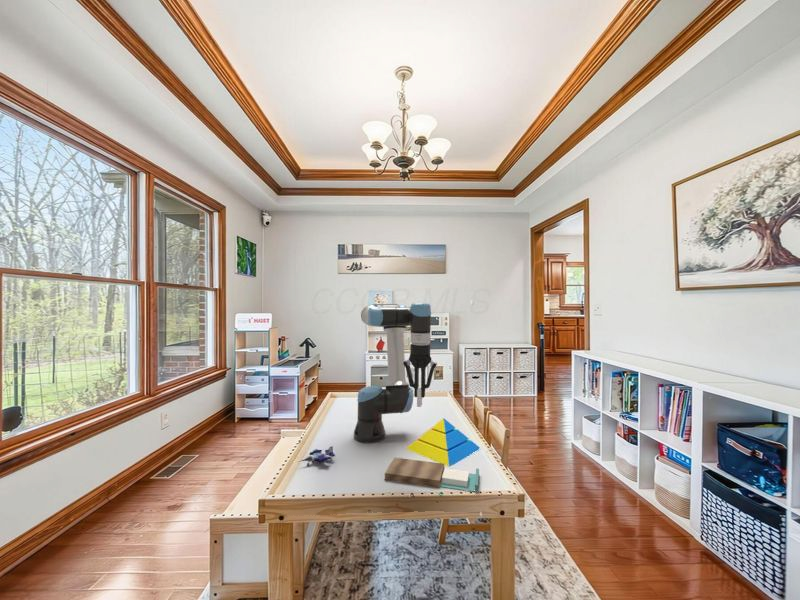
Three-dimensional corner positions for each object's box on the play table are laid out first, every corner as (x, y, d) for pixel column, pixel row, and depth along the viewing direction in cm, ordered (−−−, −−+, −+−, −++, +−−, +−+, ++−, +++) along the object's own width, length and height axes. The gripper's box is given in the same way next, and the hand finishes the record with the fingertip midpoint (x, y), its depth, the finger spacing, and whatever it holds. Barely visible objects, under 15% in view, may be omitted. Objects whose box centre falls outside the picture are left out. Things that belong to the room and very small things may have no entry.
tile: (441, 483, 123) (441, 477, 123) (444, 473, 129) (444, 468, 129) (467, 487, 120) (467, 481, 120) (469, 477, 127) (469, 471, 127)
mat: (439, 487, 121) (439, 479, 121) (444, 470, 132) (444, 464, 132) (477, 492, 117) (477, 485, 117) (478, 475, 129) (479, 468, 129)
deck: (384, 479, 125) (384, 473, 125) (394, 463, 138) (394, 457, 138) (439, 487, 120) (439, 480, 120) (444, 470, 133) (444, 463, 133)
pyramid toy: (449, 469, 135) (449, 433, 135) (403, 450, 152) (403, 417, 152) (483, 450, 152) (483, 418, 152) (438, 434, 170) (438, 405, 170)
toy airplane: (294, 469, 132) (294, 460, 132) (310, 454, 146) (310, 445, 146) (325, 473, 130) (326, 463, 130) (339, 457, 144) (339, 448, 144)
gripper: (401, 344, 128) (400, 407, 129) (436, 346, 125) (435, 410, 126) (405, 341, 136) (405, 401, 136) (438, 343, 132) (438, 404, 133)
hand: (419, 405), depth 131 cm, fingers closed
